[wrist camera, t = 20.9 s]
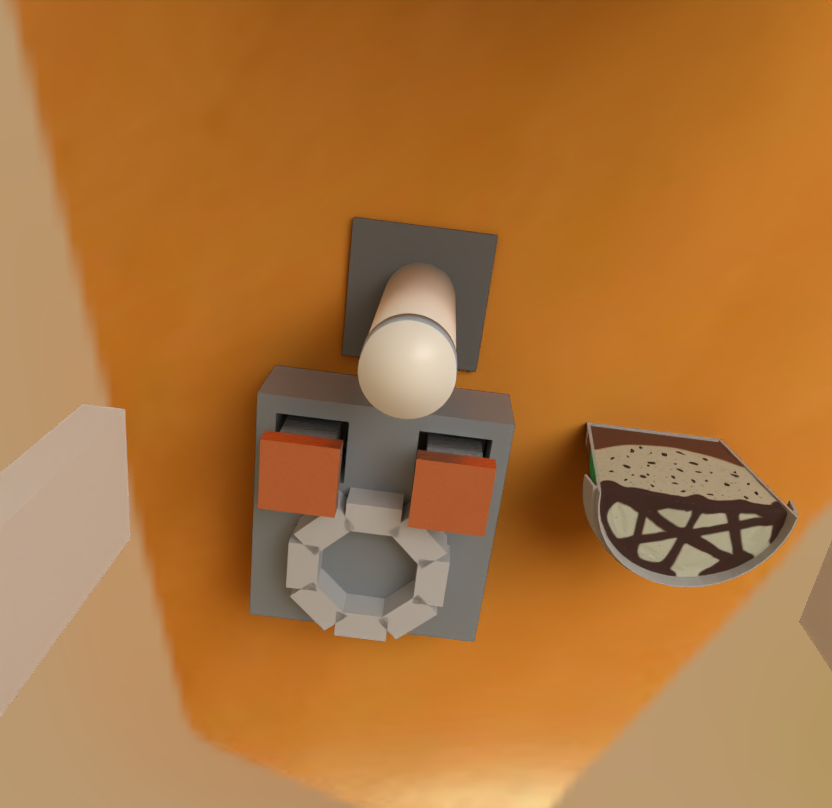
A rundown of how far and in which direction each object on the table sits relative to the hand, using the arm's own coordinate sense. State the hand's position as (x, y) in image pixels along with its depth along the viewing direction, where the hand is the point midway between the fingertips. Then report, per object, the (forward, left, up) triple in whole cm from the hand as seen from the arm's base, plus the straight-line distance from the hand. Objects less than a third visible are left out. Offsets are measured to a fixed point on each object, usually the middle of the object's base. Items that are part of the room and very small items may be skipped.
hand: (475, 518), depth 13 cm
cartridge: (+5, -2, -34) cm, 35 cm away
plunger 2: (+14, +2, -32) cm, 35 cm away
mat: (+5, -2, -35) cm, 35 cm away
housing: (+19, -3, -35) cm, 40 cm away
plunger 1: (+14, -7, -32) cm, 36 cm away
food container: (+15, +15, -35) cm, 41 cm away
